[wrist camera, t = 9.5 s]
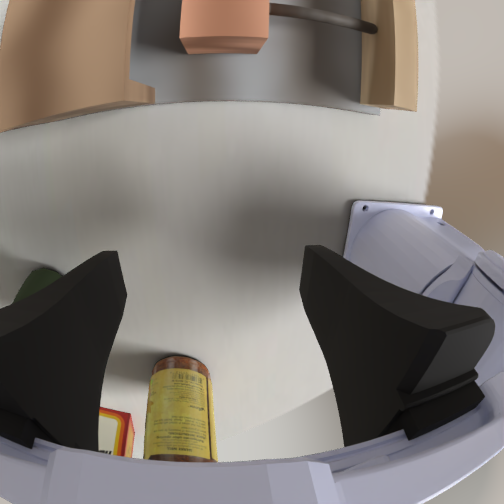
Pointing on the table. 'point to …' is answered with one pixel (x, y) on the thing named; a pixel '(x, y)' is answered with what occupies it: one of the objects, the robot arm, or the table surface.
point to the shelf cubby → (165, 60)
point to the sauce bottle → (180, 413)
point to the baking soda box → (115, 433)
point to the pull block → (371, 24)
